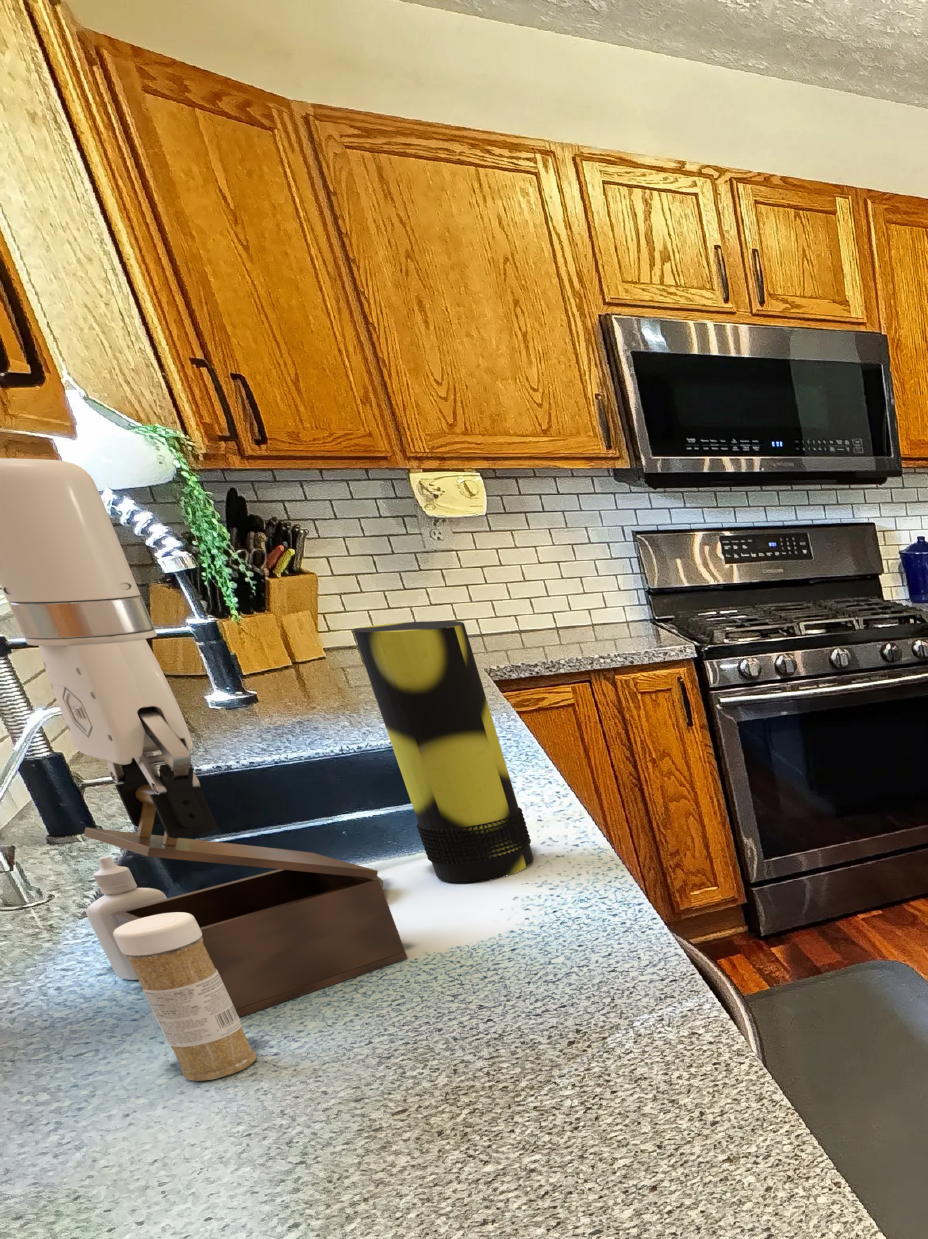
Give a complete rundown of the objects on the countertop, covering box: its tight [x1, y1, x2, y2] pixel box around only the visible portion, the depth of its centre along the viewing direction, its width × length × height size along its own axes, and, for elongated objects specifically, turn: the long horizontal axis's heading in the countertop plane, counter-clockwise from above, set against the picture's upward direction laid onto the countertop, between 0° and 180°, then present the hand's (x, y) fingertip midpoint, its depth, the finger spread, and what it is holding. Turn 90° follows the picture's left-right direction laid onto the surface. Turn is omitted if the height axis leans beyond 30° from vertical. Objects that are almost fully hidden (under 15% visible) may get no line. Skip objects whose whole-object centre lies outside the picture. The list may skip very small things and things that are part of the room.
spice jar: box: [113, 912, 257, 1082], centre depth 80 cm, size 5×5×14 cm
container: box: [352, 620, 535, 884], centre depth 120 cm, size 11×11×30 cm
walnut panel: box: [83, 784, 379, 879], centre depth 93 cm, size 16×13×6 cm
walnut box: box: [110, 869, 409, 1019], centre depth 96 cm, size 16×13×9 cm
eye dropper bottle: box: [85, 855, 168, 981], centre depth 97 cm, size 4×6×12 cm
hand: (175, 826), depth 89 cm, fingers closed on walnut panel, 6 cm apart
